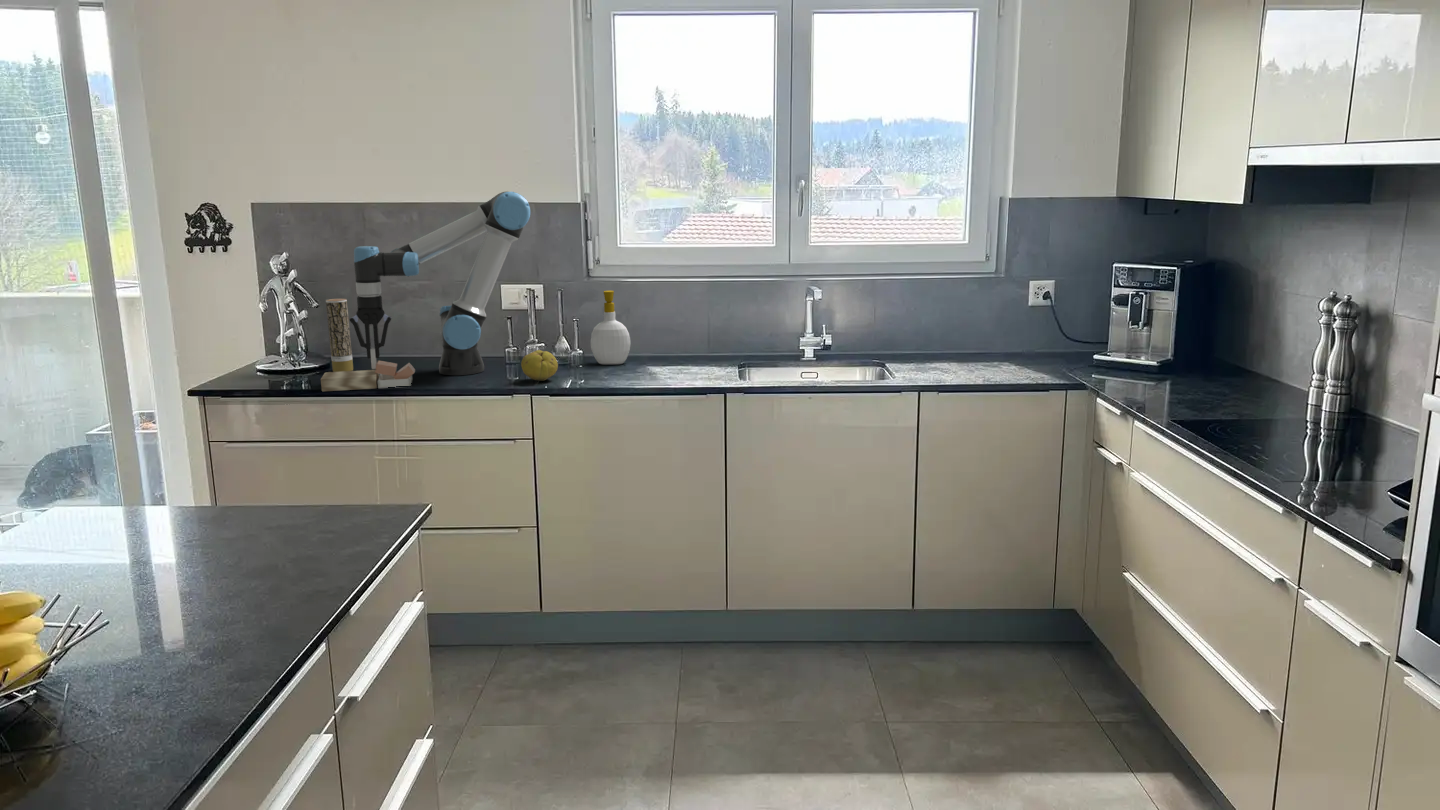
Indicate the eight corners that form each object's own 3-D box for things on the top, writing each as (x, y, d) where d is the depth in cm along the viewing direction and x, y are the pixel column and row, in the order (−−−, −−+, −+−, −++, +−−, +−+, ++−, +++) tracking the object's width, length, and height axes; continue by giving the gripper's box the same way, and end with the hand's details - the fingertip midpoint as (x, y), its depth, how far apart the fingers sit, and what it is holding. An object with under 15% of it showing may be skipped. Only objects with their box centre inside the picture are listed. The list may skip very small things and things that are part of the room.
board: (379, 381, 332) (378, 369, 331) (376, 388, 321) (375, 376, 320) (326, 384, 328) (325, 372, 327) (321, 391, 317) (320, 379, 316)
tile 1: (395, 372, 330) (397, 363, 329) (394, 376, 324) (396, 367, 324) (376, 369, 328) (378, 360, 328) (375, 372, 322) (376, 363, 322)
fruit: (521, 378, 334) (519, 349, 332) (557, 376, 337) (555, 347, 334) (522, 385, 324) (521, 354, 321) (559, 383, 326) (558, 352, 324)
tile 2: (394, 373, 330) (400, 380, 331) (393, 377, 324) (399, 384, 325) (409, 362, 330) (415, 369, 331) (408, 365, 325) (414, 372, 326)
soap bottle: (632, 361, 363) (630, 288, 357) (629, 365, 354) (627, 291, 348) (593, 361, 363) (590, 289, 357) (589, 365, 355) (586, 292, 349)
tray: (412, 379, 335) (411, 371, 334) (410, 386, 323) (410, 378, 323) (381, 381, 332) (380, 373, 332) (378, 388, 321) (377, 380, 320)
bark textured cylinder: (346, 373, 345) (339, 301, 339) (328, 373, 346) (321, 300, 340) (357, 370, 351) (350, 298, 346) (339, 369, 353) (332, 298, 347)
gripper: (391, 293, 325) (395, 365, 330) (348, 294, 322) (354, 366, 327) (389, 296, 318) (394, 369, 323) (346, 297, 315) (352, 371, 320)
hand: (374, 368), depth 325 cm, fingers closed
